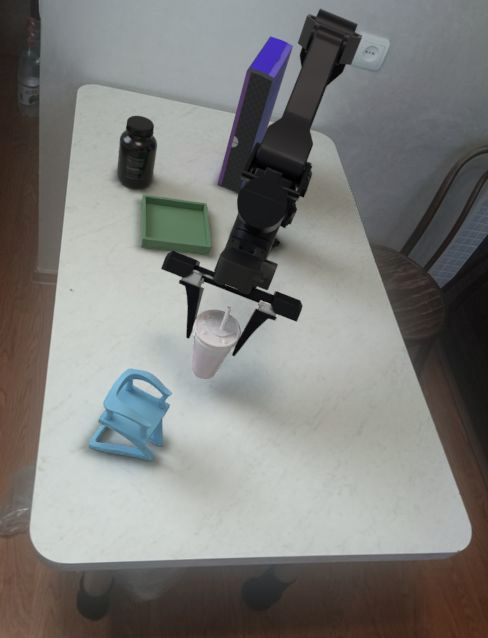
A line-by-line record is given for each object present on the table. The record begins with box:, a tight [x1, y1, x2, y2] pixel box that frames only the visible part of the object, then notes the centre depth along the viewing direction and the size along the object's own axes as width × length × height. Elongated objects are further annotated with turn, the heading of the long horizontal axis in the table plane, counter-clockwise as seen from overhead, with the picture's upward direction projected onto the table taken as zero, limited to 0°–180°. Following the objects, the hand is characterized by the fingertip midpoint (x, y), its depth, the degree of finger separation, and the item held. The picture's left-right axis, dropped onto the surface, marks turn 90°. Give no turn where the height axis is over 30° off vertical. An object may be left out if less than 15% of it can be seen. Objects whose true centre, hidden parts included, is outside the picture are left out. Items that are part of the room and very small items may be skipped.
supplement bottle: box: [116, 115, 158, 190], centre depth 101 cm, size 7×7×12 cm
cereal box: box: [216, 36, 294, 194], centre depth 108 cm, size 17×5×24 cm, turn 164°
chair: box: [88, 368, 173, 462], centre depth 68 cm, size 8×8×12 cm
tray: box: [140, 193, 212, 256], centre depth 99 cm, size 12×12×2 cm
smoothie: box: [190, 305, 242, 380], centre depth 73 cm, size 6×6×14 cm
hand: (210, 346), depth 72 cm, fingers closed on smoothie, 6 cm apart
